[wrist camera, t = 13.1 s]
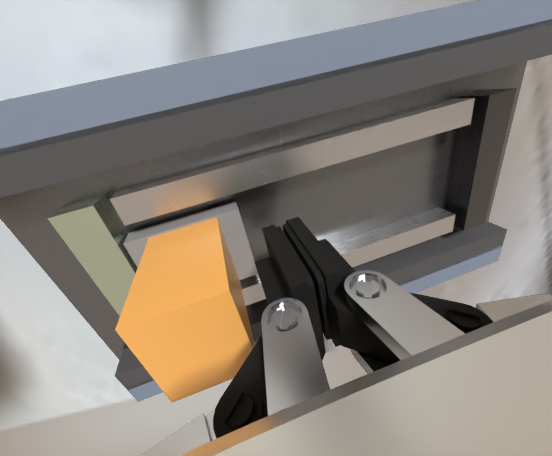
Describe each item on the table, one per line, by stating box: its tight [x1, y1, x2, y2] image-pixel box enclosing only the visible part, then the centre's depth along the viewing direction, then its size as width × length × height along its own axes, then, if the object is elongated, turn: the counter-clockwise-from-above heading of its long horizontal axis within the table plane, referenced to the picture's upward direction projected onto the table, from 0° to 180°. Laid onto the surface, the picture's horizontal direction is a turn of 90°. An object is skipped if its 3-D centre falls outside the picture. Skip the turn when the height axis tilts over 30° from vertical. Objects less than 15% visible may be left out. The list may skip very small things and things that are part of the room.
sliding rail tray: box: [0, 0, 552, 401], centre depth 13 cm, size 25×15×2 cm, turn 102°
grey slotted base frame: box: [0, 61, 527, 360], centre depth 14 cm, size 26×15×3 cm, turn 102°
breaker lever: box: [115, 201, 258, 402], centre depth 10 cm, size 5×4×6 cm
